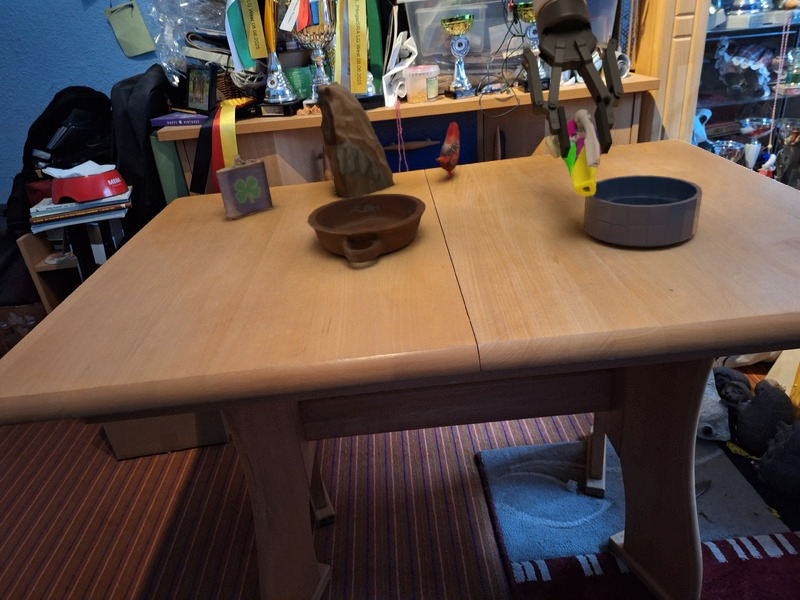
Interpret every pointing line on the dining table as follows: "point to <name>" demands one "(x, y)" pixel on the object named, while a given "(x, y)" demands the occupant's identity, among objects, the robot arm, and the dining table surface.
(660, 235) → the bowl
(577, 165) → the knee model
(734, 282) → the dining table surface
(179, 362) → the dining table surface
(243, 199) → the flask
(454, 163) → the decorative bird figurine
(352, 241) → the dish
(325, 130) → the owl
